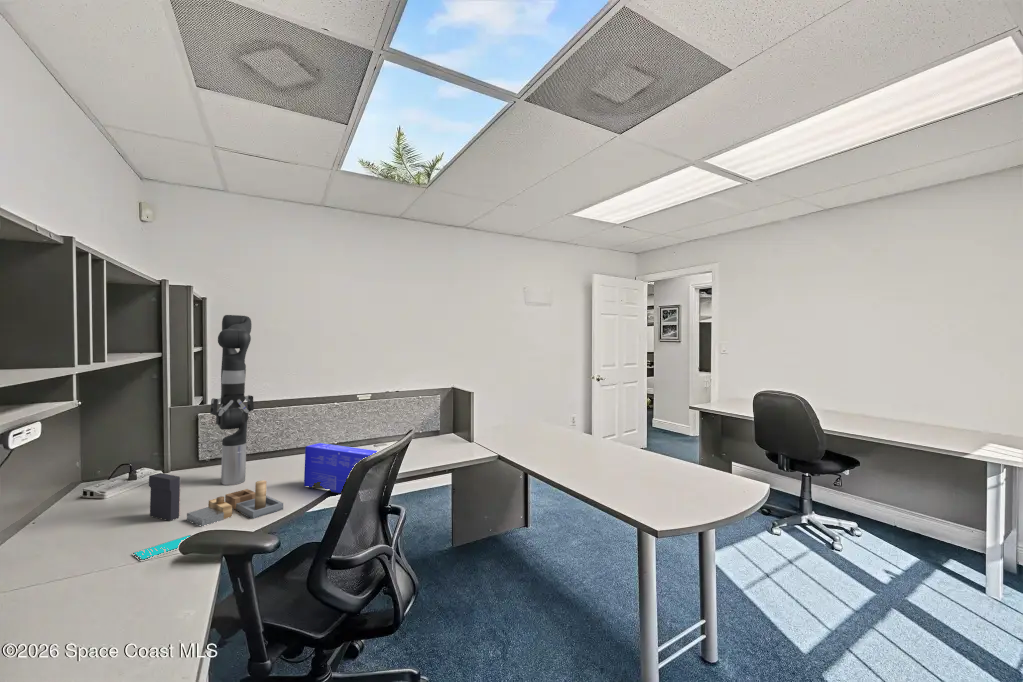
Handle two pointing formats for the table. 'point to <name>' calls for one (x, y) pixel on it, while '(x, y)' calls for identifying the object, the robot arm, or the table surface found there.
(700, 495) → the table surface
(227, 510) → the stop block
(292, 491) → the table surface
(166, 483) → the tall lidded box
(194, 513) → the grey rectangular block
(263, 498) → the dowel
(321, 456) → the toner cartridge box
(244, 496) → the socket block
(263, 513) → the tray
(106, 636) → the table surface
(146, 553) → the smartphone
